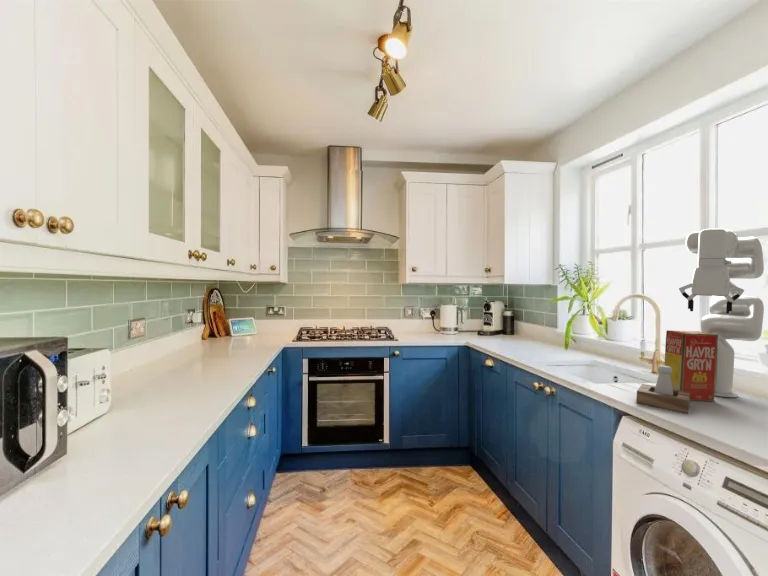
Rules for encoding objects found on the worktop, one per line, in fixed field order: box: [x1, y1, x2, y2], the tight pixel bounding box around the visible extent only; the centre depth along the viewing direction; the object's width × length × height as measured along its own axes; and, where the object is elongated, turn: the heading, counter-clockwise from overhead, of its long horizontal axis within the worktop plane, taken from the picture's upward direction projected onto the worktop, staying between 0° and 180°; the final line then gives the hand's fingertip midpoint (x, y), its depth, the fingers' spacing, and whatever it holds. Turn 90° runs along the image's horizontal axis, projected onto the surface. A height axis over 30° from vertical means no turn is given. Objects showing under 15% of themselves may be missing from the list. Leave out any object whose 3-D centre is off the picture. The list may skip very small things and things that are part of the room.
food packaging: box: [664, 330, 718, 402], centre depth 140 cm, size 13×9×25 cm
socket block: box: [635, 383, 691, 415], centre depth 131 cm, size 14×14×5 cm
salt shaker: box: [654, 364, 674, 396], centre depth 131 cm, size 6×6×13 cm
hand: (709, 312), depth 131 cm, fingers open, 9 cm apart
